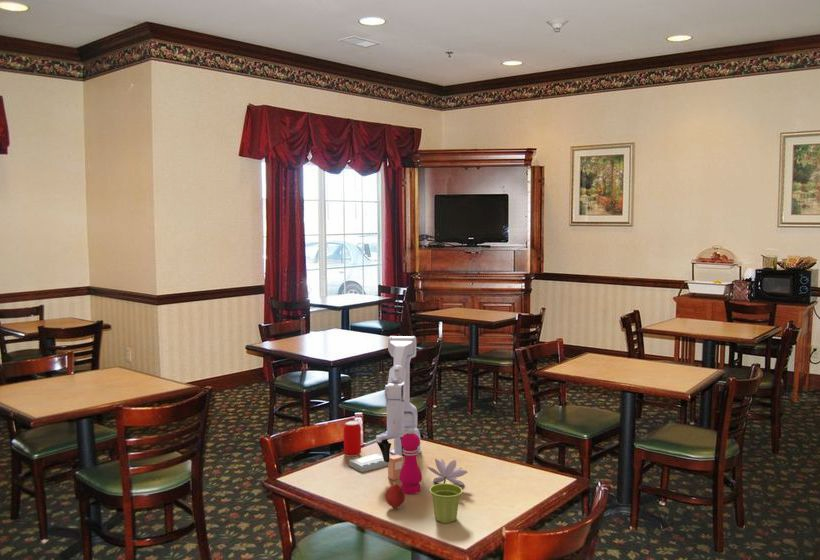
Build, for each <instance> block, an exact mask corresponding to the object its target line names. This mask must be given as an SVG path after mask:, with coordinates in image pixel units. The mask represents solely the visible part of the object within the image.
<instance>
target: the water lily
mask: <svg viewBox="0 0 820 560" xmlns="http://www.w3.org/2000/svg"><path fill="white" fill-rule="evenodd" d="M434 462H435V466H436V469H437V470H436V469H435V468H434V467H431V466H426V468H427V469H428V470H430V472H432V473H434V474H435V475H436V476H438V477H435V478H434V479H433V482H434V483H441V482H443V483H442V484H446V482H447V481H446V480H448V481H449V482H450V483H451V484H453V485H457V486H465V485H466V484H465V483H464V482H463V481H461V480H460V479H459V480H458V478H460V477H463V476H464V475H467V474H468V473H469V471H468V470H464V469H462V467H458V468H456V466H457V460H455V459H453V460H451V461H450V462H449V463H447V465H446V462H445V460H443V459H441V460H439V459H437V458H434Z"/></svg>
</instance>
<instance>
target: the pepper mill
mask: <svg viewBox="0 0 820 560" xmlns="http://www.w3.org/2000/svg"><path fill="white" fill-rule="evenodd" d="M401 445H402V447H403V454H404V457H403V467H402V469H401V471H400V475H399V481H400V482H401V484H400V487H401V488H402V489H403V490H404V493H405V495H416V494H419V493H420V492H421V482H422V479H423V474H422V470H421V469H420V466H419V463H418V454H419V453H418V446H419V445H420V446H421V438H420V439H419V437H418V436H417V435H416V434H414V433H413V430H412V429H408V433H407V434H405V435H404V436H403V437H402V439H401Z"/></svg>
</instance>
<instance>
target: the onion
mask: <svg viewBox="0 0 820 560" xmlns="http://www.w3.org/2000/svg"><path fill="white" fill-rule="evenodd" d="M391 484H392V485H390V486H389V487H388V488H387V490H386V491H385V494H384V496H385V497H384V498H385V502H386V503H387V504H388V505H389V506H390V507H391V508H392V509H396V510H397V509H398V508H399V507H400V506H402V505H403V503H404V502H405V500H406V499H405V498H406V494H405V493H404V490H403V489H402V488H401V485H398V484H397V482H392V483H391Z"/></svg>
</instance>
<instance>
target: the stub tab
mask: <svg viewBox="0 0 820 560" xmlns="http://www.w3.org/2000/svg"><path fill="white" fill-rule="evenodd" d="M403 464H404V457H402V456H400V455H395V454H393V455H391V456H390V455H389V462H388V466H387V478H389V479H390V480H393V481H395V480H398V479H399V475H400V471H401V469H402V467H403ZM399 480H400V479H399Z"/></svg>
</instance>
